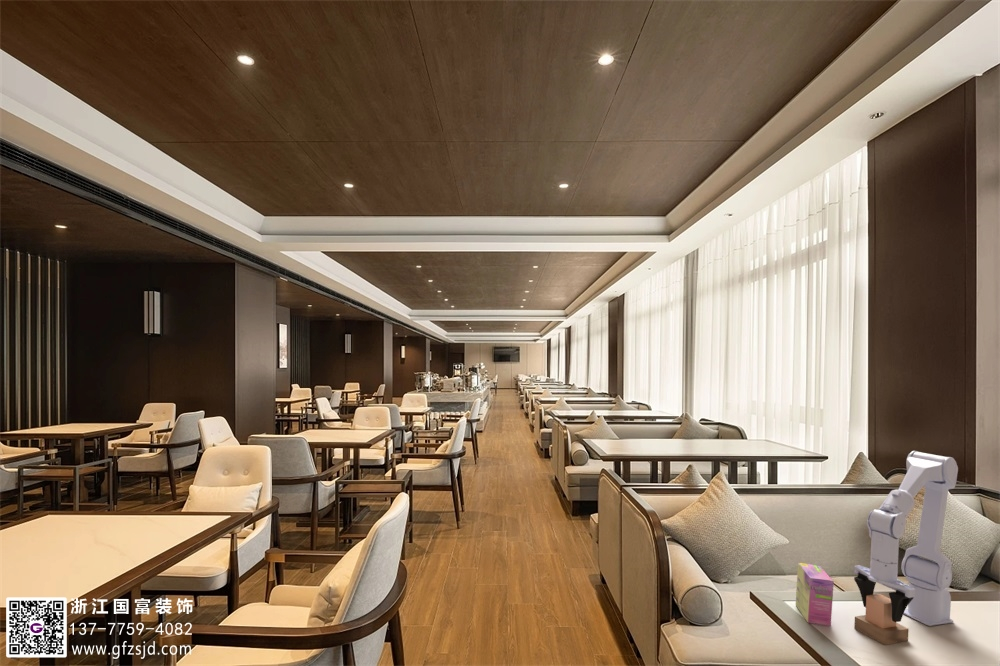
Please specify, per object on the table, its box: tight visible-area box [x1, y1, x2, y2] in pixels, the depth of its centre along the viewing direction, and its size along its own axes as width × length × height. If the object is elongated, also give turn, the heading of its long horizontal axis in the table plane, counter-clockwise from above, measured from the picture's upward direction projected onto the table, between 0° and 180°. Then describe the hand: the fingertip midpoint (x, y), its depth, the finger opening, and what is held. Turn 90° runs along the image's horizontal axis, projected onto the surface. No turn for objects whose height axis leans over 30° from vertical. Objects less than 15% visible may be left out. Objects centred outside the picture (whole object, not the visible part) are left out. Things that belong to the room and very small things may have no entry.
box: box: [795, 562, 835, 627], centre depth 152 cm, size 10×6×12 cm, turn 168°
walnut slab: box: [853, 614, 910, 646], centre depth 143 cm, size 8×8×3 cm
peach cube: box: [865, 593, 897, 628], centre depth 143 cm, size 5×5×6 cm
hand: (881, 613), depth 143 cm, fingers open, 7 cm apart
